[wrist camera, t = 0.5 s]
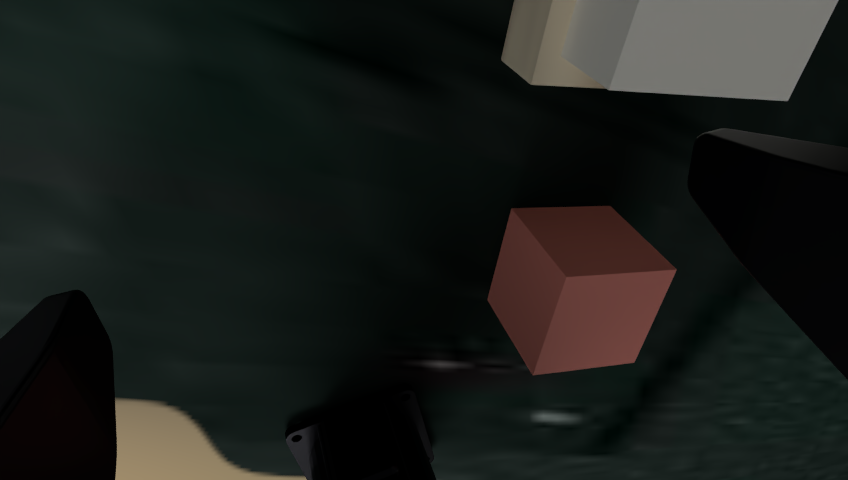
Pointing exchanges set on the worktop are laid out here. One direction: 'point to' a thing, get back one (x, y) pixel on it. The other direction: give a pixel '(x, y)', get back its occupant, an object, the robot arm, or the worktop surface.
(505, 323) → the red cube
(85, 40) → the worktop surface
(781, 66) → the tower top
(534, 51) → the tower base
